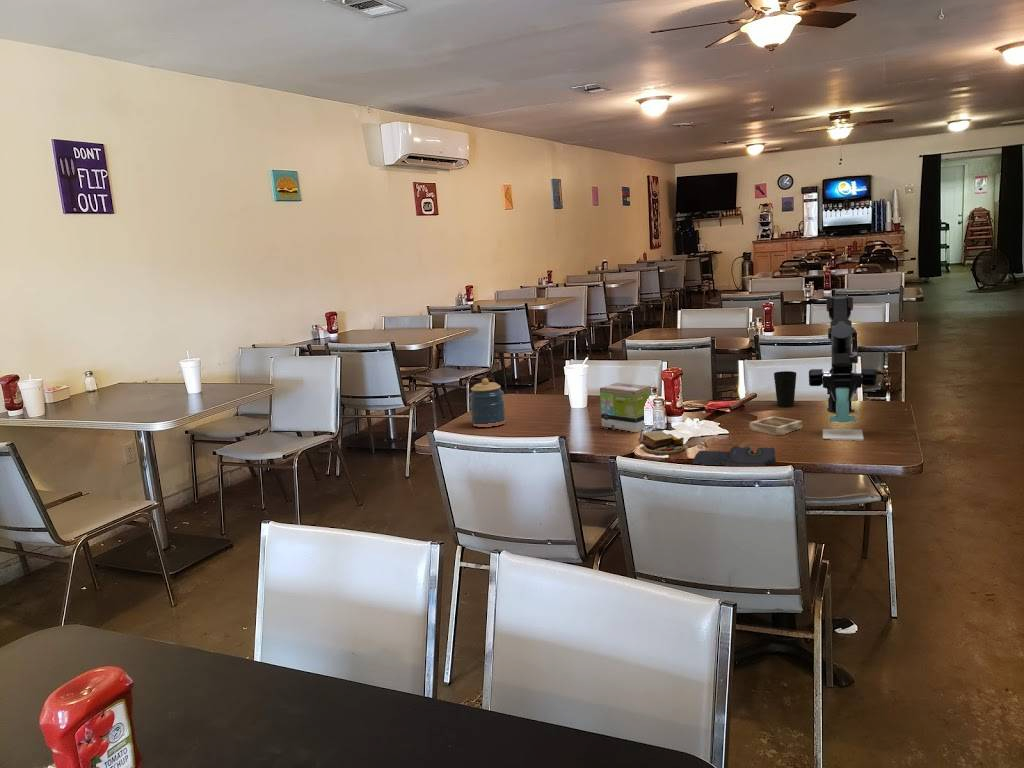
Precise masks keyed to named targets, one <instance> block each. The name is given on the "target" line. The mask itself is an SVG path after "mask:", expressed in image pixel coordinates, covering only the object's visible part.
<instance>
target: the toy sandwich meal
mask: <svg viewBox="0 0 1024 768" xmlns="http://www.w3.org/2000/svg"><path fill="white" fill-rule="evenodd" d="M684 440H685V437H683V436H682V437H680V438H678V437H676V436H674V435H673V434H671V433H666V432H664V431H663V430H651V431H647V432H644V433H642V439H641V440H640V444H641V445H643V449H644V450H645V451H646V452H647V453H648V454H649V453H650V454H652V455H654V454H655V455H671V454H677V453H680V452H682V451H684V450H685V449H686V447H687V446H686V444H685V443H684Z"/></svg>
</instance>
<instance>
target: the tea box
mask: <svg viewBox="0 0 1024 768" xmlns="http://www.w3.org/2000/svg"><path fill="white" fill-rule="evenodd" d="M599 395H600V399H599V400H600V416H601V427H602V426H606V427H612V428H618V429H624V430H630V431H638V430H640V429H642V428H644V427H645V423H644V406H645V403H646V401H647V399H648V398H649V396H650V395H651V396H652V386H651V385H644V384H642V385H641V384H632V383H624V382H623V383H622V382H614V383H612V384H609V385H605V386H602V387H599Z"/></svg>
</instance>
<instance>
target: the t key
mask: <svg viewBox="0 0 1024 768" xmlns="http://www.w3.org/2000/svg"><path fill="white" fill-rule="evenodd" d="M829 422H832V423H836V422H837V423H851V422H852V423H856V416H855V415H850V412H849V388H846V387H839V388H836V413H835V415H829Z"/></svg>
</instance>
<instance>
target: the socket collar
mask: <svg viewBox="0 0 1024 768" xmlns="http://www.w3.org/2000/svg"><path fill="white" fill-rule="evenodd" d="M803 423H804V422H803V420H797V419H793V418H788V417H787V418H786V417H780V416H774V415H772V416H768V417H764V418H761V419H758V420H757V419H756V420H754V421H751V422H749V431H753V432H758V433H764V434H767V435H768V434H769V435H772V436H773V435H775V436H778V435H780V436H783V435H786V433H787V434H789V432H790V433H792V431H793V432H796V431H795V430H797V431H799V430H798V429H800V430H802V429H801V428H803V427H804V426H803ZM778 425H779V426H778Z"/></svg>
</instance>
